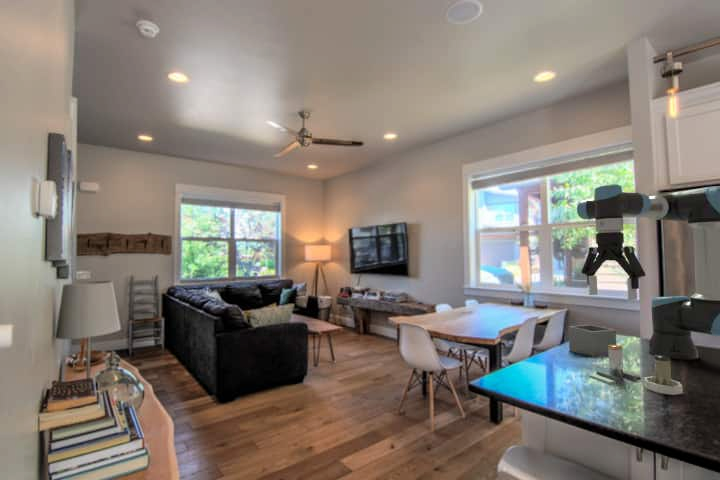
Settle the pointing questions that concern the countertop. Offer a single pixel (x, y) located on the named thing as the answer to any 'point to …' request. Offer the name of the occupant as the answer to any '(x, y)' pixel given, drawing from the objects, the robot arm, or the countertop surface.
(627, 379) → the cradle
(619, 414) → the countertop surface
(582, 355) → the smartphone
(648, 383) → the white octagonal bowl
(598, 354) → the phone caddy
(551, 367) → the countertop surface
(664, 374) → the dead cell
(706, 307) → the robot arm
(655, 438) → the countertop surface
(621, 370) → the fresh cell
